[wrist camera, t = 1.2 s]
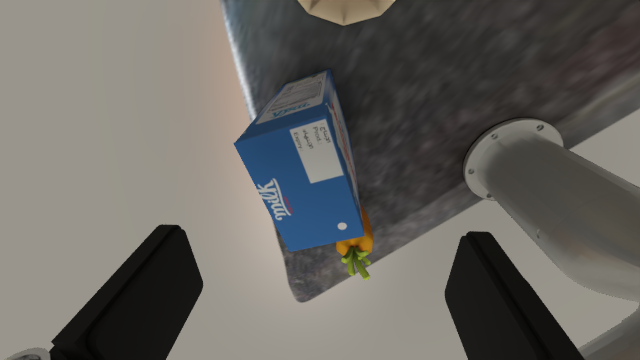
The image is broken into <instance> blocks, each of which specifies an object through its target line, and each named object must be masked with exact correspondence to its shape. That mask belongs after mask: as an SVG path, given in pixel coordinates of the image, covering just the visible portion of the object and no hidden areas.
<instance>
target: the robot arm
mask: <svg viewBox="0 0 640 360" xmlns="http://www.w3.org/2000/svg"><path fill="white" fill-rule="evenodd" d="M463 176H464V180H465V182H466V184H467V186H468V187H469V188H470V189H471V190H472V192H474V193H475V194H476V195H477V196H479V197H481V198H484V199H487V200H491V201H497V202H498V203H499V204H500V205H501V206H502V207H503V208H504V210H505V211H506V212H507V213H508V214H509V215H510V216H511V217H512V218H513V219H514V220H515V221H516V223H517V224H518V225H519V226H520V227H521V228H522V229H523V230H524V231H525V232H526V233H527V234H528V236H529V237H530V238H531V239H532V240H533V241H534V242H535V243H536V244H537V245H538V246H539V247H540V248H541V249H542V251H543V252H544V253H545V254H546V255H547V256H548V257H549V258H550V259H551V260H552V261H553V262H554V264H555V265H556V266H557V267H558V268H559V269H560V270H561V271H562V272H563V273H564V274H565V275H567V276H568V277H569V278H571V279H572V280H573V281H575V282H577V283H578V284H580V285H582V286H584V287H586V288H589V289H591V290H594V291H596V292H599V293H603V294H606V295H610V296H614V297H618V298H622V299H627V300H632V301H636V302H639V307H638V309H637V310H636V311H635V312H634V313H633V314H631V315H630V316H628V317H627V318H625V319H624V320H622V322H621V323H620V324H618V325H616V326H615V327H613V328H611V329H610V330H608V331H607V332H605V333H603V334H602V335H600V336H598V337H597V338H595V339H593V340H592V341H590V342H588V343H587V344H585V345H583V346H582V347H580V348H578V349H577V348H576V347H575V345H574V344H573V343H572V341H571V340H570V339H569V337H568V336H567V335H566V333H565V332H564V330H563V329H562V328H561V326H560V325H559V324H558V322H557V321H556V320H555V318H554V317H553V315H552V314H551V313H550V311H549V310H548V309H547V307H546V306H545V305H544V303H543V302H542V300H541V299H540V298H539V296H538V295H537V294H536V292H535V291H534V290H533V288H532V287H531V286H530V284H529V283H528V282H527V281H526V280H525V279H524V278H523V276H522V275H521V274H520V272H519V271H518V270H517V268H516V267H515V266H514V264H513V263H512V262H511V260H510V259H509V257H508V256H507V255H506V254H505V252H504V250H503V249H502V248H501V246H500V245H499V244H498V242H497V241H496V240H495V238H494V237H493V235H492V234H491V233H489V232H473V231H472V232H471V231H470V232H468V233H467V234H466V236H462V237H461V239H460V242H459V246H458V249H457V253H456V256H455V259H454V262H453V266H452V269H451V272H450V275H449V279H448V282H447V285H446V289H445V300H446V303H447V306H448V308H449V311H450V313H451V316H452V319H453V321H454V324H455V326H456V329H457V332H458V334H459V337H460V339H461V342H462V344H463V347H464V350H465V352H466V355H467V358H468V360H640V188H639V187H637V186H635V185H633V184H631V183H629V182H627V181H626V180H624V179H622V178H620V177H618V176H616V175H614V174H612V173H611V172H608V171H607V170H605V169H603V168H601V167H599V166H597V165H596V164H594V163H592V162H590V161H588V160H586V159H584V158H583V157H581V156H579V155H577V154H575V153H573V152H571V151H570V150H568V149H566V148H564V147H563V140H562V137H561V135H560V133H559V132H558V131H557V130H556V129H555V128H554V127H553V126H551V125H550V124H548V123H546V122H544V121H542V120H538V119H534V118H518V119H512V120H509V121H505V122H503V123H500V124H498V125H496V126H494V127H493V128H491V129H489V130H488V131H486V132H485V133H484V134H483V135H481V136H480V137H479V138H478V139H477V140H476V141H475V142H474V144H473V145H472V146H471V148H470V149H469V151H468V152H467V155H466V157H465V160H464V164H463ZM202 288H203V281H202V278H201V275H200V272H199V269H198V267H197V263H196V261H195V258H194V255H193V252H192V249H191V246H190V244H189V241H188V238H187V235H186V232H185V231H184V230H183V229H181V227H180V226H179V225H159V226H158V227H156V229H155V230H154V231H153V232H152V233H151V234H150V235H149V236H148V237H147V238H146V239H145V240H144V242H143V243H142V244H141V245H140V246H139V247H138V248H137V249H136V250H135V252H133V253H132V255H131V256H130V257H129V258H128V259H127V260H126V261H125V262H124V263H123V264H122V265H121V267H120V268H119V269H118V270H117V271H116V272H115V273H114V274H113V275H112V276H111V277H110V279H109V280H108V281H107V282H106V283H105V284H104V285H103V286H102V287H101V289H99V290H98V291H97V293H96V294H95V295H94V296H93V297H92V298H91V299H90V300H89V301H88V302H87V304H85V306H84V307H83V308H82V309H81V310H80V311H79V312H78V313H77V314H76V315H75V317H74V318H73V319H72V320H71V321H70V322H69V323H68V324H67V325H66V326H65V327H64V328H63V329H62V331H61V332H60V333H59V334H58V335H57V336H56V337H55V338H54V339H53V340H52V341H51V342H52V343H53V344H54V345H55V346H54V347H53V348H52V349H51V350H50V351H49V352H48V351H47V350H46V349H43V348H32V349H27V350H24V351H21V352H19V353H16V354H14V355H12V356H10V357H9V358H7V359H5V360H166V358H167V356H168V354H169V352H170V350H171V349H172V347H173V345H174V343H175V341H176V339H177V337H178V335H179V333H180V331H181V330H182V328H183V326H184V324H185V322H186V320H187V318H188V316H189V314H190V312H191V310H192V309H193V307H194V305H195V303H196V301H197V299H198V297H199V295H200V294H201V291H202Z"/></svg>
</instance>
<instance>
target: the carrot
mask: <svg viewBox="0 0 640 360" xmlns="http://www.w3.org/2000/svg"><path fill="white" fill-rule="evenodd" d="M360 207H361V214H362V221H363V227H364V234H365V236H363V237H358V238H353V239H349V240H344V241H339V242H336V249H337V251H338V252H339V253H340V254H342V255H343V257H342V259H341V260H342V262H343V263H347V266H348V273H349V274H350V275H352V276H354V275H355V270H354V265H353V259H354V262H355V265H356V267H357V269H358V271H359V273H360V274H361V275H362V277H363V278H364V280H367V279H369V278H370V276H369V274H368V272H367V271H366V269H365V268H364V266H363V265H362V263H361V261H360V260H362V261H363V262H364V263H365V264H366V265H370V262H369V261H368V260H367V259H366V258H365V257H364V256H366V255H368V254H369V253H371V251H372V245H373V234H372V230H371V225H370V222H369V218H368V216H367V214H366V212H365V210H364V208H363V207H362V206H361V205H360Z"/></svg>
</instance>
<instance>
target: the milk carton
mask: <svg viewBox="0 0 640 360" xmlns="http://www.w3.org/2000/svg"><path fill="white" fill-rule="evenodd" d="M234 145H235V147H236V149H237V151H238V153H239V155H240V157H241V159H242V161H243V162H244V165H245V166H246V168H247V170H248V172H249V174H250V176H251V178H252V180H253V182H254V184H255V186H256V188H257V190H258V192H259V194H260V196H261V197H262V199H263V201H264V203H265V205H266V207H267V209H268V211H269V213H270V215H271V217H272V219H273V221H274V223H275V225H276V227H277V229H278V230H279V232H280V234H281V236H282V238H283V240H284V242H285V244H286V246H287V248H288V250H289V252H292V251H297V250H302V249H306V248H311V247H316V246H320V245H325V244H330V243H335V242H339V241H344V240H349V239H353V238H358V237H363V236H365V234H364V227H363V221H362V214H361V207H360V200H359V193H358V187H357V180H356V173H355V166H354V160H353V153H352V146H351V139H350V136H349V132H348V129H347V125H346V122H345V118H344V115H343V111H342V108H341V104H340V101H339V97H338V94H337V91H336V87H335V84H334V80H333V77H332V73H331V70H330V69H327V70H324V71H321V72H318V73H315V74H312V75H309V76H306V77H303V78H301V79H298V80H295V81H292V82H289V83H286V84H284V85H283V86H282V87H281V88H280V89H279V91H278V92H277V93H276V94H275V95H274V97H273V98H272V99H271V100H270V101H269V103H268V104H267V105H266V106H265V107H264V109H263V110H262V111H261V112H260V113H259V115H258V116H257V117H256V118H255V119H254V121H253V122H252V123H251V124H250V125H249V127H248V128H247V129H246V130H245V131H244V133H243V134H242V135H241V136H240V138H239V139H238V140H237V141H236V142H235V143H234Z"/></svg>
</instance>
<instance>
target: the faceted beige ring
mask: <svg viewBox="0 0 640 360" xmlns="http://www.w3.org/2000/svg"><path fill="white" fill-rule="evenodd" d="M298 1H299V3H300V4H301V5H302V6H303V8H304V9H305V10H306V11H307V12H308V14H311V15H314V16H317V17H319V18H322V19H325V20H328V21H331V22H334V23H337V24H340V25H342V26H344V25H348V24H351V23H355V22H359V21H362V20H366V19H370V18H373V17H377V16H381V15H382V14H383V13H384V12H385V11H386V10H387V9H388V8H389V7H390V6H391V5H392V4H393V3H394V2H395V1H396V0H298Z"/></svg>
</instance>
